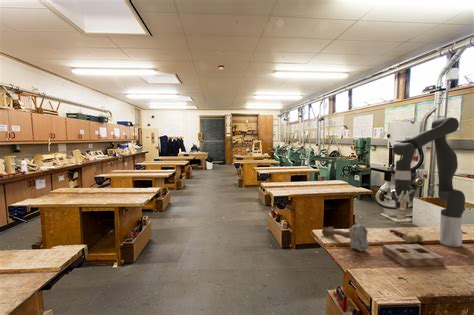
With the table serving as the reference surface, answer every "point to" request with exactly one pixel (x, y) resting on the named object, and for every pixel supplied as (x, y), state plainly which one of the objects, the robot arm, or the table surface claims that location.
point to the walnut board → (413, 255)
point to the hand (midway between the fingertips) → (401, 208)
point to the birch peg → (402, 208)
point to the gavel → (409, 237)
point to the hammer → (351, 236)
